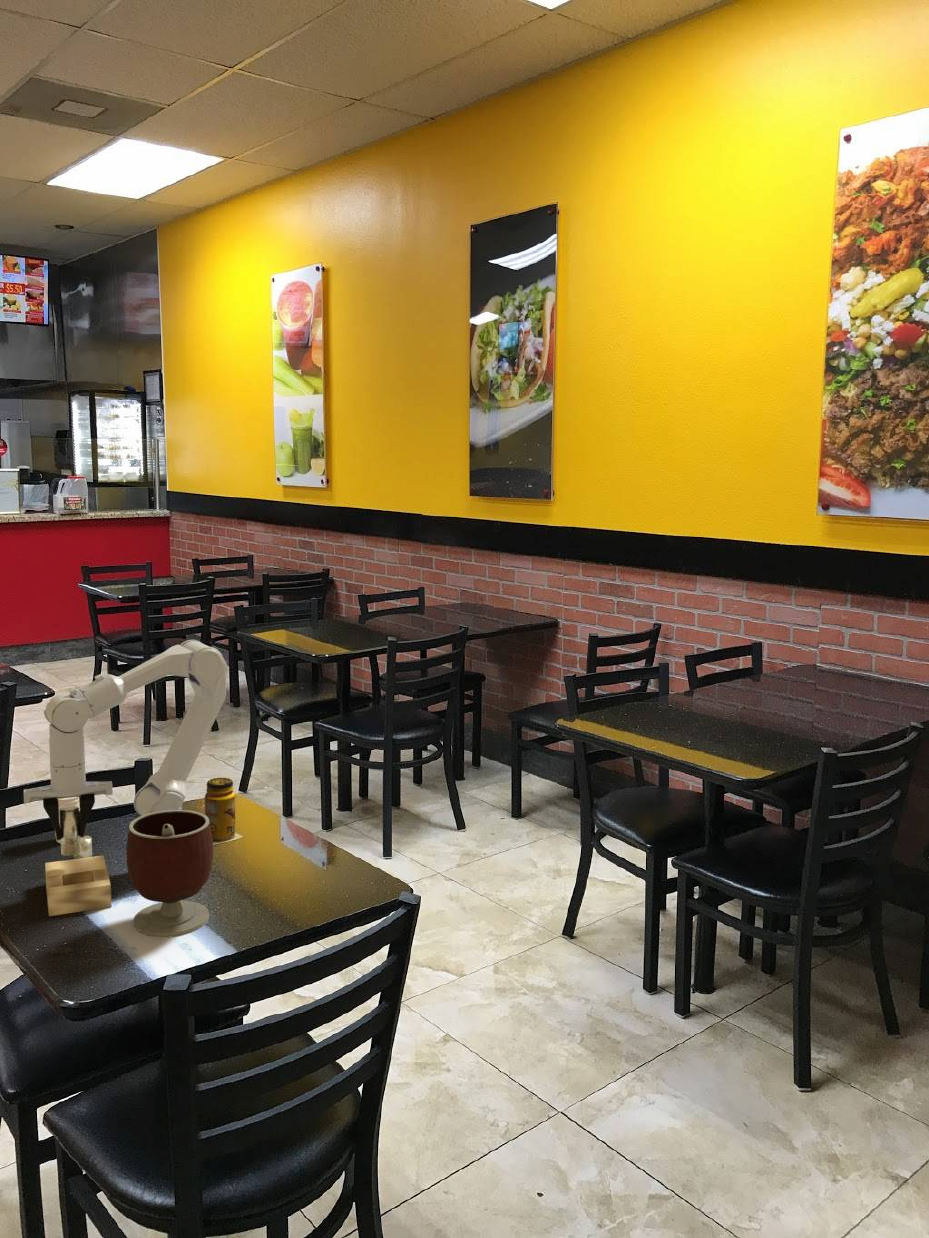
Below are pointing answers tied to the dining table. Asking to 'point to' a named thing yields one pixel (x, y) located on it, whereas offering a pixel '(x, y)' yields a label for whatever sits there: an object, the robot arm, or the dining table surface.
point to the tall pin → (70, 830)
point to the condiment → (221, 810)
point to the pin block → (77, 885)
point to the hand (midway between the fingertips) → (70, 836)
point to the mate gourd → (170, 869)
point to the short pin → (85, 848)
